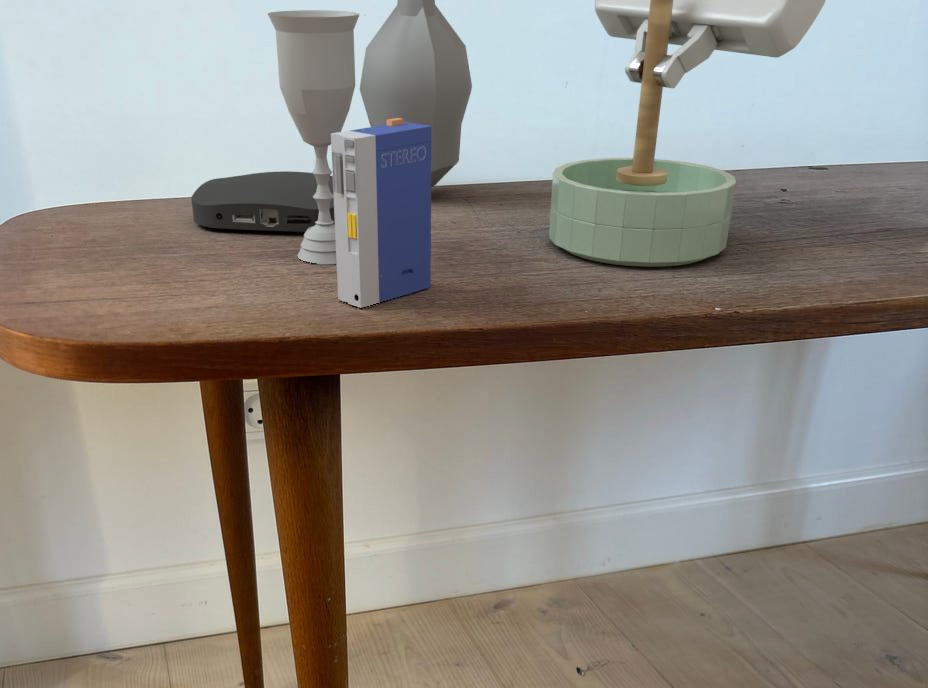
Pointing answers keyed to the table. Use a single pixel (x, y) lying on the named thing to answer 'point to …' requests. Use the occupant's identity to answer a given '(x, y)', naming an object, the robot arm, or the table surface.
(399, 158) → the walkman
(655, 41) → the stirring stick
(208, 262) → the table surface
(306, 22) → the chalice
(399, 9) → the grey faceted vase
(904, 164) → the table surface
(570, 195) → the bowl
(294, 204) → the media streaming box
